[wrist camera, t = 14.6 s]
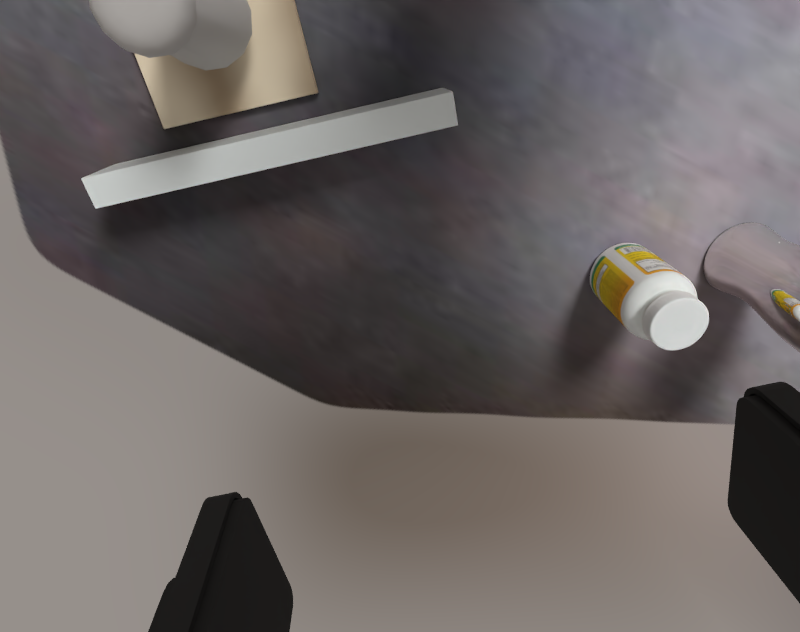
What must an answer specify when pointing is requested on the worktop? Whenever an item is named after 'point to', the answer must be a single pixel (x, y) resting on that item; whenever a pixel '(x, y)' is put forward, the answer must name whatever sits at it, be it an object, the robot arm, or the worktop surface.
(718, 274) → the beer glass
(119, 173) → the acrylic wall
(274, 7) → the coaster board
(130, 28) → the salt shaker
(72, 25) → the worktop surface
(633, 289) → the supplement bottle
